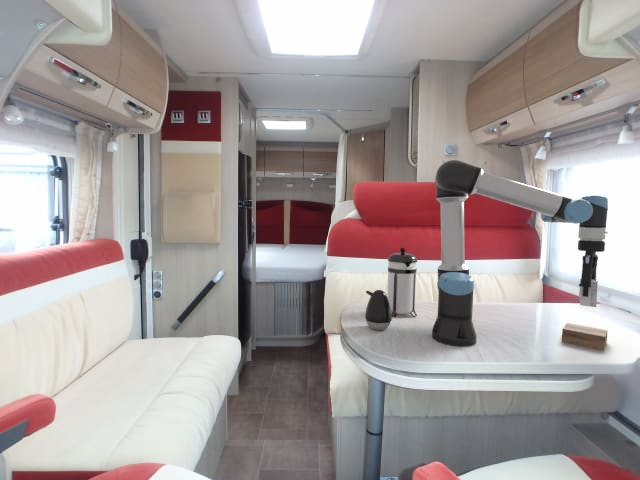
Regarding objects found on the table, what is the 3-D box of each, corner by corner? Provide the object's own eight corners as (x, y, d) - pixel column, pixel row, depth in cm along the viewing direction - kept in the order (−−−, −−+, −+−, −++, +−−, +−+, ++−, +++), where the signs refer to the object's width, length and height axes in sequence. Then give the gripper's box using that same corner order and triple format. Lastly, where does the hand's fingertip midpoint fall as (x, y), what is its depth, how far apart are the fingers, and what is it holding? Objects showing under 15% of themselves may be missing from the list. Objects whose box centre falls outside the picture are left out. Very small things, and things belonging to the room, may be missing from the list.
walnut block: (604, 351, 120) (605, 336, 120) (561, 342, 128) (562, 328, 128) (606, 343, 127) (607, 330, 127) (566, 335, 135) (567, 322, 135)
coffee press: (424, 313, 161) (427, 247, 159) (407, 320, 150) (409, 250, 147) (391, 306, 173) (393, 245, 171) (372, 312, 161) (374, 246, 159)
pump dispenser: (369, 322, 146) (370, 286, 145) (394, 326, 141) (395, 289, 140) (360, 329, 137) (361, 290, 136) (387, 334, 132) (388, 293, 131)
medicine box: (596, 307, 122) (598, 282, 121) (580, 305, 124) (582, 281, 124) (593, 302, 129) (595, 279, 128) (578, 301, 131) (580, 277, 130)
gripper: (601, 241, 115) (596, 310, 116) (608, 239, 130) (604, 300, 132) (572, 240, 120) (568, 306, 122) (583, 238, 135) (579, 296, 137)
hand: (587, 303), depth 127 cm, fingers closed on medicine box, 8 cm apart
